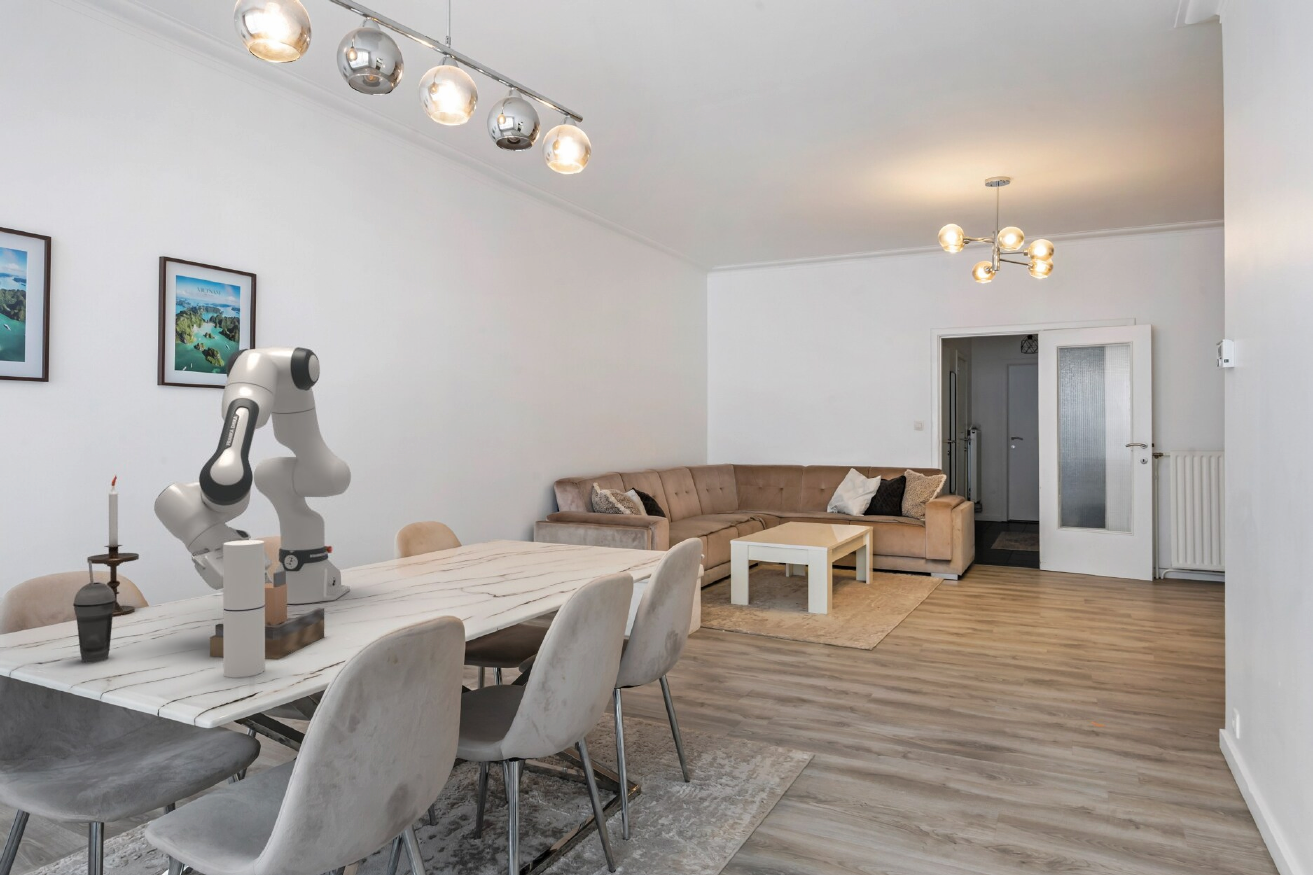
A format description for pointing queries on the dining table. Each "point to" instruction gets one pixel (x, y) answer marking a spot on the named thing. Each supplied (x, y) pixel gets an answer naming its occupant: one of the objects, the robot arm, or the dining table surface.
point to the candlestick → (114, 553)
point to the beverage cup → (94, 619)
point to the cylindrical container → (244, 608)
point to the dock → (281, 635)
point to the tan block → (276, 599)
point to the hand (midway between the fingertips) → (261, 592)
